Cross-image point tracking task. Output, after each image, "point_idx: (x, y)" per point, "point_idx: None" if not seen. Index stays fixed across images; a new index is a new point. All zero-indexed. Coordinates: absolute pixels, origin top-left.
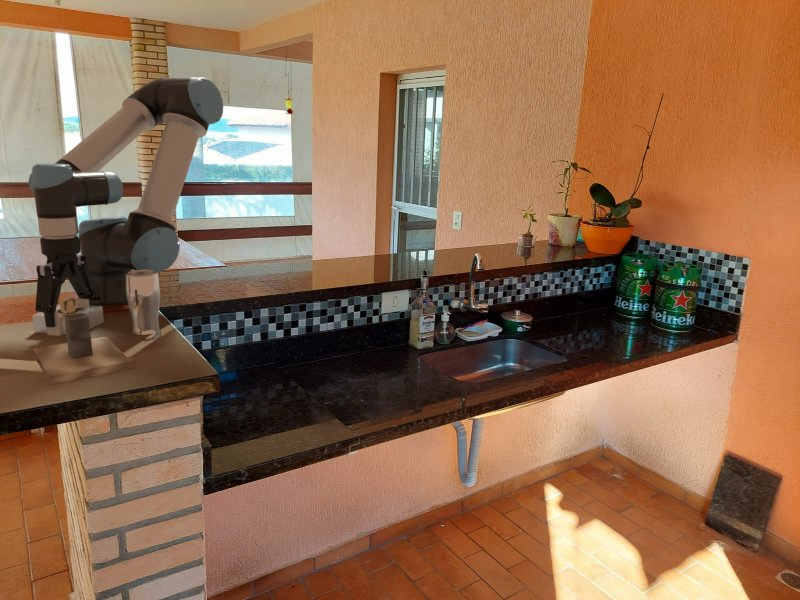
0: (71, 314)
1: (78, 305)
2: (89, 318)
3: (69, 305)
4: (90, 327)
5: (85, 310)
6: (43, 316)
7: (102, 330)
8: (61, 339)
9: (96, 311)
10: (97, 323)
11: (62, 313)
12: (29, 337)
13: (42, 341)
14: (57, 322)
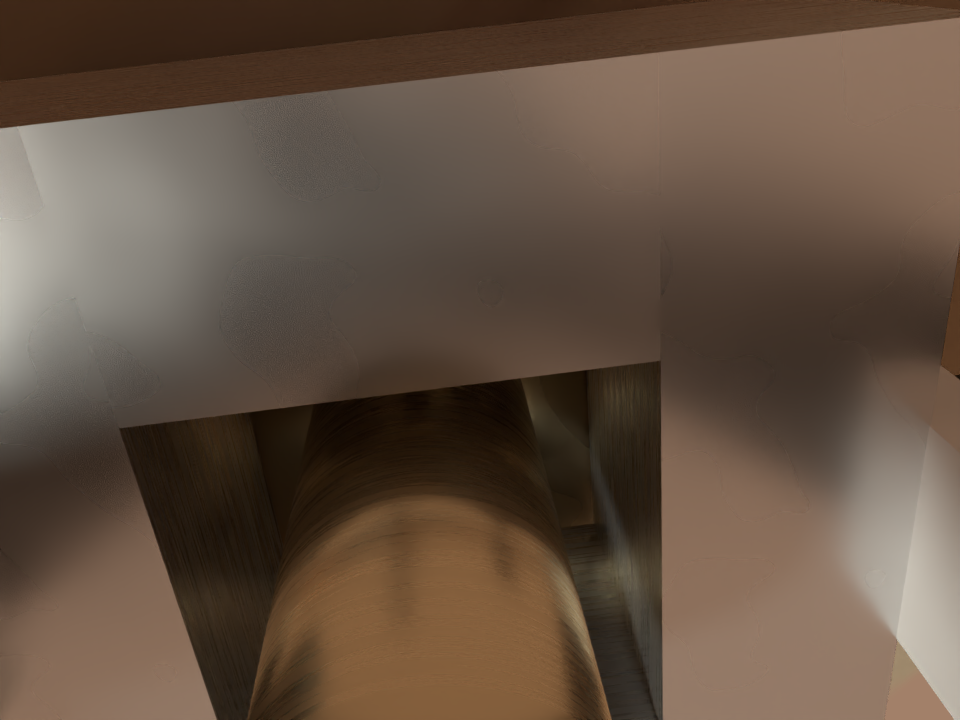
0: (695, 337)
1: (18, 681)
2: (374, 59)
3: (535, 609)
4: (378, 40)
5: (273, 278)
6: (878, 698)
7: (95, 27)
8: None
9: (24, 112)
10: (135, 70)
11: (662, 551)
12: None
13: None
14: (941, 376)
